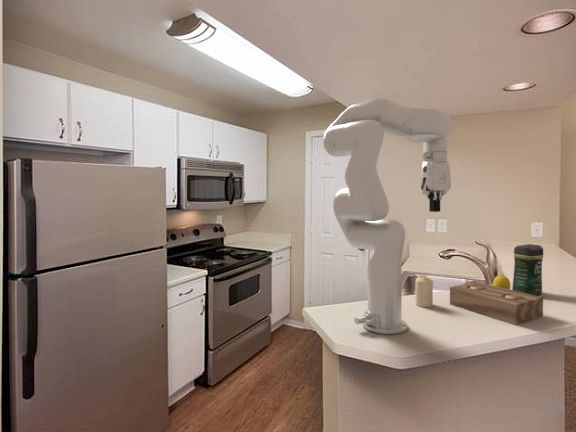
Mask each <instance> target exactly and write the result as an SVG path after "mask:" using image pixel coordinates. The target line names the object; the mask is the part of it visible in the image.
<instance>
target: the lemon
mask: <svg viewBox="0 0 576 432" xmlns="http://www.w3.org/2000/svg"><path fill="white" fill-rule="evenodd" d="M492 286H497V287H501V288H505V289H509V290H511V282H510V280H509V278H508V277H507V276H505V275H503V274H500V275H497V276H496V277H494V279H493V281H492Z"/></svg>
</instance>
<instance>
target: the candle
mask: <svg viewBox="0 0 576 432" xmlns="http://www.w3.org/2000/svg"><path fill="white" fill-rule="evenodd" d="M433 287H434V281H433V280H432V279H431V278H430V277H429V276H427V275H420V276H418V277H417V278H416V279H415V290H414V291H415V305H416V306H417V307H421V308H431V307H433V302H434V299H433V297H434V295H433V289H434V288H433Z"/></svg>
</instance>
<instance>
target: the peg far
mask: <svg viewBox="0 0 576 432" xmlns="http://www.w3.org/2000/svg"><path fill="white" fill-rule="evenodd" d="M470 288H471V289H475V290H483V288H482V287H478V286H471V287H470Z"/></svg>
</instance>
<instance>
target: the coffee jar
mask: <svg viewBox="0 0 576 432" xmlns="http://www.w3.org/2000/svg"><path fill="white" fill-rule="evenodd" d="M513 249H514V250H513V258H514V265H513V266H514V269H513V279H512V287H511V288H512V289H511V290H514V291H518V292H522V293H527V294H531V295H535V296H539V295H542V294H543V276H542V275H543V268H542V267H543V259H544V248H543V246H541V245H539V244H533V243H532V244H531V243H528V244H527V243H526V244H523V245H522V244H521V245H516V246H515V247H514V248H513Z"/></svg>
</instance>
